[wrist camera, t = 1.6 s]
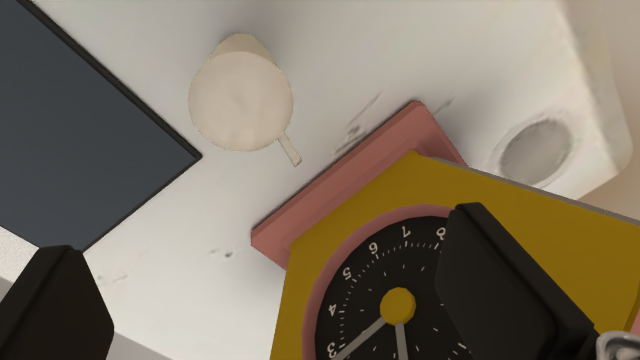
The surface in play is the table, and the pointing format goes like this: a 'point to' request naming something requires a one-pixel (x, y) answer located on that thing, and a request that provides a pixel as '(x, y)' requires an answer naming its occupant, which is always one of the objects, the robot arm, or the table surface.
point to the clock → (425, 249)
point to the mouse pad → (73, 138)
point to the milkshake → (242, 98)
